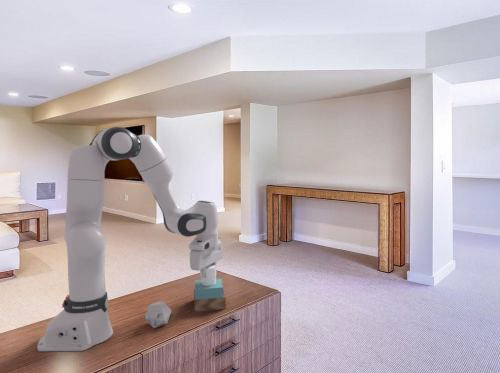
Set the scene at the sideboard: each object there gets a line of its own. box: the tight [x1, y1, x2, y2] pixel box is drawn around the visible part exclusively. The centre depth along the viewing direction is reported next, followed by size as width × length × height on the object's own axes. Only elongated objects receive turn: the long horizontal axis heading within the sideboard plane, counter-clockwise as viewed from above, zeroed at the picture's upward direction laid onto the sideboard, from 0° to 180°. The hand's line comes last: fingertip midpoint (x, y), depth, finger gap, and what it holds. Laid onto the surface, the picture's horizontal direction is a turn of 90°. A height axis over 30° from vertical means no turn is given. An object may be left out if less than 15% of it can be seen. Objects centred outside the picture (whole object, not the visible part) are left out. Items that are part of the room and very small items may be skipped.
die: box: [144, 300, 172, 329], centre depth 129 cm, size 8×9×10 cm
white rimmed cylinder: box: [199, 264, 217, 286], centre depth 145 cm, size 7×7×7 cm
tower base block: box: [193, 289, 227, 313], centre depth 146 cm, size 12×12×5 cm
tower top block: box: [193, 278, 224, 300], centre depth 145 cm, size 11×11×4 cm
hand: (208, 275), depth 145 cm, fingers closed on white rimmed cylinder, 5 cm apart
